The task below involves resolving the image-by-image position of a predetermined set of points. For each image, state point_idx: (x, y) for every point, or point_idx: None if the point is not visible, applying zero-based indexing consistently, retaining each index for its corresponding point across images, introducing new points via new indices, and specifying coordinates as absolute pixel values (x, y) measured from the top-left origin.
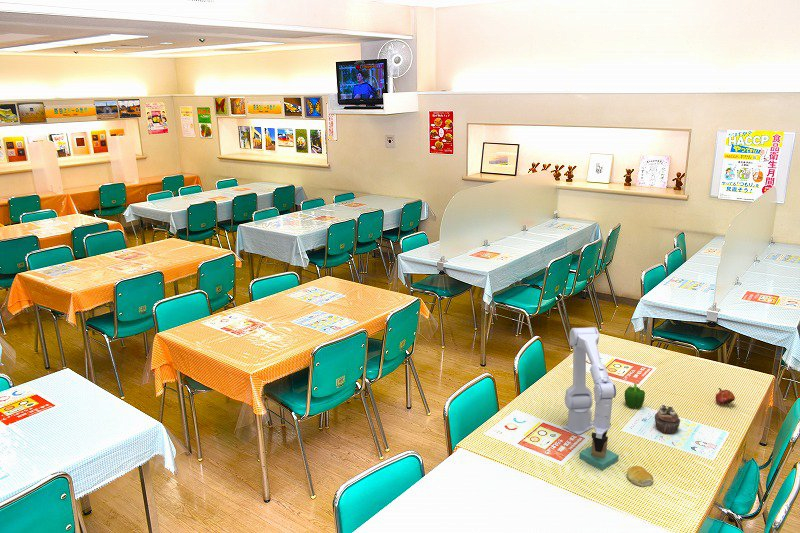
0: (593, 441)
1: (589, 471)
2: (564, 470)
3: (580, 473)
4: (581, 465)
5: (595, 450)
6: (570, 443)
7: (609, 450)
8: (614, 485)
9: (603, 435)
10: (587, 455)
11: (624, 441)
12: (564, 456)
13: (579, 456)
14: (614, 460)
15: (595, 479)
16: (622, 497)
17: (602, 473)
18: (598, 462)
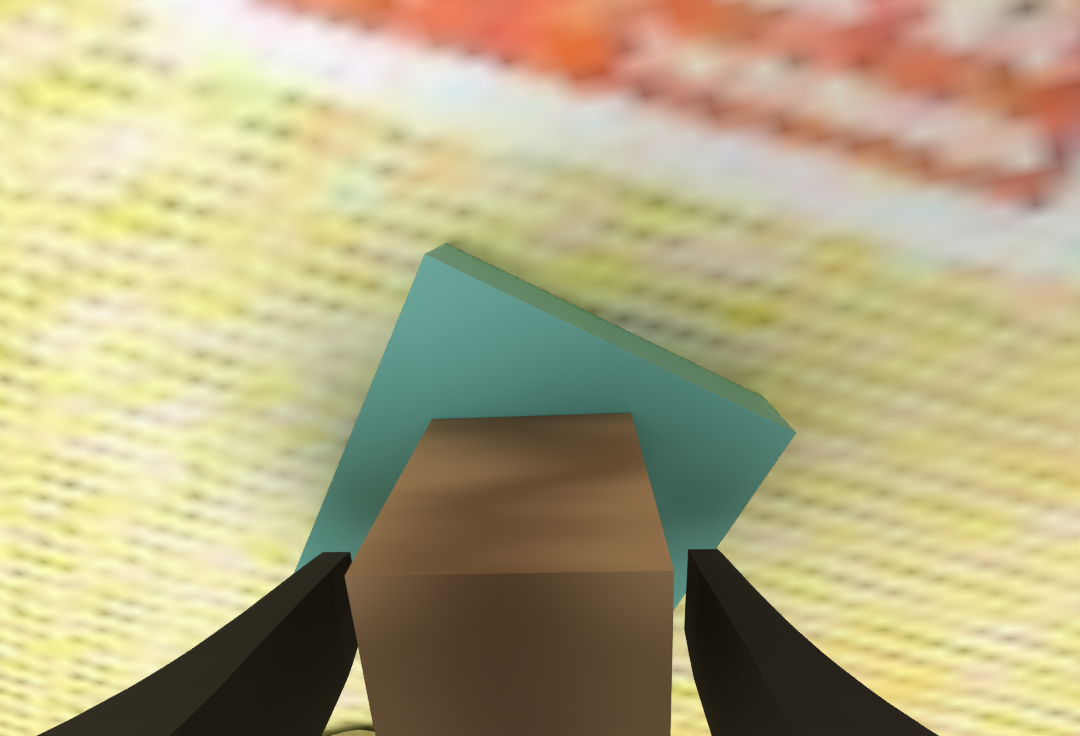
0: (349, 595)
1: (230, 410)
2: (52, 116)
3: (125, 323)
4: (298, 303)
5: (312, 560)
6: (806, 27)
7: (673, 609)
8: (146, 651)
9: (722, 729)
10: (406, 375)
11: (1058, 664)
12: (387, 26)
13: (436, 249)
14: None
15: (123, 489)
16: (19, 718)
17: (277, 536)
18: (314, 527)
